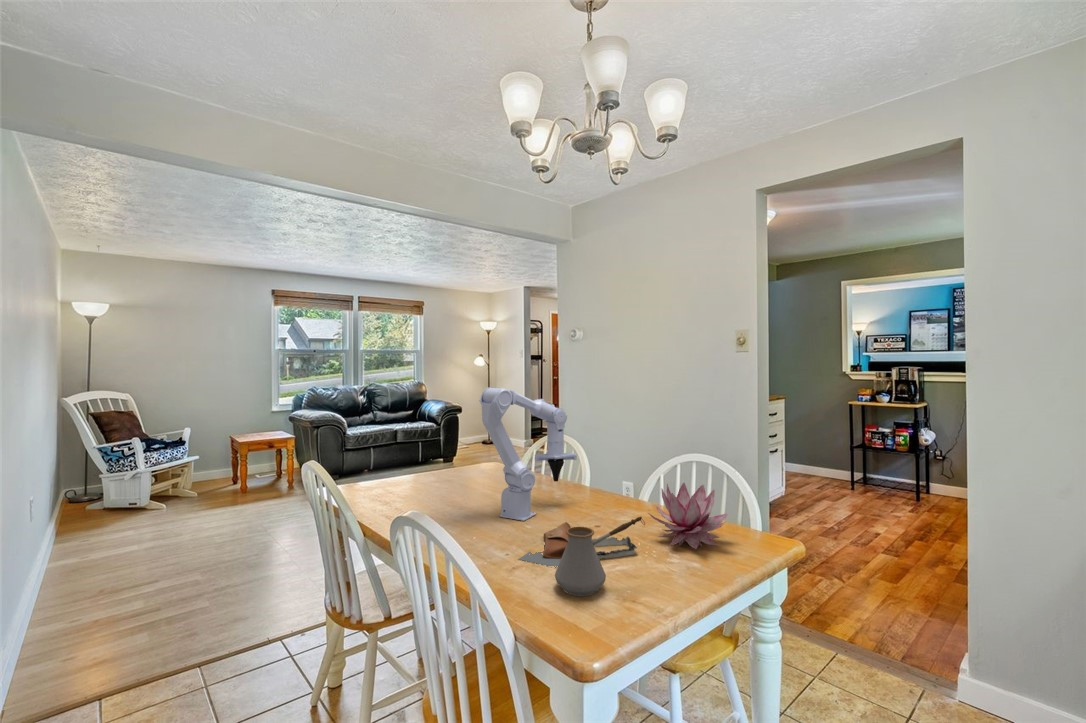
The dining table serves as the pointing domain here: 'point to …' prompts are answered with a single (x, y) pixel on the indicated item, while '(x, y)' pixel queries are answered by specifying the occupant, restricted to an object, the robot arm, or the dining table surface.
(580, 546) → the coffee pot
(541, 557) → the rubber mat
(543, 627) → the dining table surface
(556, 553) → the sunglasses case
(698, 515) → the decorative flower
